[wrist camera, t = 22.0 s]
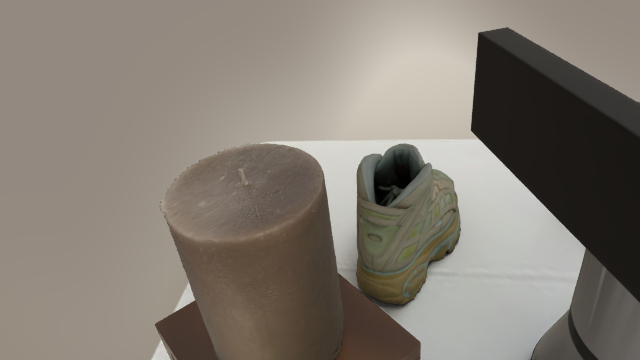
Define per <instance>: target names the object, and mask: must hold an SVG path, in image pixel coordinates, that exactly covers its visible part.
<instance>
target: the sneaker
mask: <svg viewBox="0 0 640 360" xmlns="http://www.w3.org/2000/svg"><path fill="white" fill-rule="evenodd" d="M460 231H461V229H460V215H459V209H458V205H457V195H456V192H455V190H454V183H453V180H452V179H450V178H449V177H448V176H447V175H446V174H444V173H443V172H441V171H439V170H435V169H432V166H431V164H430V163H427V164H425V163H424V161H423V159H422V157H421V155H420V153H419V151H418V149H417V148H416V147H415V146H413V145H410V144H398V145H395V146H393V147H391V148H389V149H388V150H387V151H386V152H385V154H384V155H383V157H382V155H381V154H370V155H368V156H365V157H364V158H363V159H362V161H361V163H360V164H359V167H358V170H357V249H358V255H359V257H358V260H357V272H356V275H357V282H358V286H359V287H360V289H361V290H362V291H363V292H364V293H366V294H368V295H369V296H371V297H373V298H376V299H378V300H381V301H383V302H386V303H394V304H399V305H402V304H405V303H407V302H408V301H411V300H413V299H414V297H415V296H416V292H419V291H420V289H421V287H422V283H424V282H425V280H426V277H427V267H428V264H429V261H430V260H440V259H442V258H444V256H445V253H446V251H447V252H448V253H451V252H452V251H453V250H454V247H455V243H458V240H459V237H460Z"/></svg>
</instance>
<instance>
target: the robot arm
mask: <svg viewBox="0 0 640 360" xmlns="http://www.w3.org/2000/svg"><path fill="white" fill-rule="evenodd" d="M471 131H472V132H473V133H474V134H475V135H476V136H477V137H478V138H479V139H480V140H481V141H482V142H483V143H484V144H485V145H486V146H487V147H488V149H489V150H490V151H491V152H492V153H493V154H494V155H495V156H496V157H497V158H498V159H499V160H500V161H501V162H502V163H503V164H504V165H505V166H506V167H507V168H508V169H509V170H510V171H511V172H512V173H513V174H514V175H515V176H516V177H517V178H518V179H519V180H520V181H521V182H522V183H523V184H524V185H525V186H526V187H527V188H528V189H529V190H530V191H531V192H532V193H533V194H534V195H535V196H536V198H537V199H538V200H539V201H540V202H541V203H542V204H543V205H544V206H545V207H546V208H547V209H548V210H549V211H550V212H551V213H552V214H553V215H554V216H555V217H556V218H557V219H558V220H559V221H560V222H561V223H562V224H563V225H564V226H565V227H566V228H567V229H568V230H569V231H570V232H571V233H572V234H573V235H574V236H575V237H576V238H577V239H578V240H579V241H580V242H581V243H582V244H583V245H584V246H585V248H586V251H585V254H584V258H583V262H582V266H581V270H580V273H579V277H578V280H577V284H576V287H575V291H574V294H573V298H572V302H571V306H570V309H569V310H568V311H567V312H566V313H565V314H564V315H563V316H562V317H561V318H560V319H559V320H558V321H557V322H556V323H555V324H554V325H553V326H552V327H551V328H550V329H549V330H548V331H547V332H546V333H545V334H544V335H543V337H542V338H541V339H540V340H539V342H538V343H537V345H536V347H535V349H534V351H533V354H532V357H531V360H640V102H636V101H634V100H632V99H631V98H629V97H627V96H626V95H624V94H622V93H621V92H619V91H617V90H615V89H614V88H612V87H610V86H608V85H607V84H605V83H603V82H601V81H600V80H598V79H596V78H594V77H593V76H591V75H589V74H588V73H586V72H584V71H582V70H581V69H579V68H577V67H575V66H574V65H572V64H570V63H568V62H567V61H565V60H563V59H562V58H560V57H558V56H556V55H555V54H553V53H551V52H549V51H548V50H546V49H544V48H542V47H541V46H539V45H537V44H536V43H534V42H532V41H530V40H529V39H527V38H525V37H523V36H522V35H520V34H518V33H516V32H515V31H513V30H511V29H509V28H502V29H496V30H491V31H485V32H480V33H478V47H477V58H476V72H475V84H474V97H473V110H472V123H471Z"/></svg>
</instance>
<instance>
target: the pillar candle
mask: <svg viewBox="0 0 640 360" xmlns="http://www.w3.org/2000/svg"><path fill="white" fill-rule="evenodd" d="M160 203H161V205H160V209H161V211H162V212H163V213H164V214H165V216H164V217H165V218H166V220H167V224H168V226H169V228H170V232H171V235H172V237H173V239H174V242H175V245H176V247H177V251H178V253H179V255H180V258H181V262H182V264H183V268H184V269H185V271H186V275H187V278H188V280H189V283H190V286H191V289H192V292H193V295H194V298H195V300H196V302H197V304H198V307H199V309H200V312H201V315H202V318H203V321H204V323H205V326H206V328H207V331H208V334H209V336H210V339H211V341H212V344H213V346H214V350H215V353H216V355H217V357H218V360H334V359H335V358H336V357H337V356H338V354H339V352H340V350H341V348H342V346H343V341H342V340H343V331H344V329H345V321H344V314H343V306H342V301H341V293H340V287H339V279H338V271H337V264H336V257H335V252H334V244H333V237H332V230H331V222H330V215H329V207H328V199H327V192H326V187H325V179H324V174H323V171H322V168H321V166H320V165H319V163H318V162H317V160H316V159H315V158H313V157H312V156H311V155H309V154H308V153H306V152H304V151H302V150H300V149H298V148H294V147H290V146H286V145H278V144H252V145H251V144H245V145H242V146H239V147H231V148H228V149H225V150H223V151H221V152H218V153H217V154H214V155H213V156H211V157H208V158H205V159H202V160H200V161H199V162H198V163H196V164H194V165H192V166H190V167H188V168H187V170H185V171H184V172H183V173H182V174H181V175H180V176H179V177H178V178H177V179H175V180H174V182H173V183H172V184H171V186H170V188H169V189H168V190H167V192H166V194H165V197H164V200H163V201H162V202H160Z"/></svg>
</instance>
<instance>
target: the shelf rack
mask: <svg viewBox="0 0 640 360" xmlns="http://www.w3.org/2000/svg"><path fill="white" fill-rule="evenodd" d="M338 279H339V287H340V293H341V301H342V306H343V314H344V321H345V329H344V331H343V340H342V341H343V346H342V348H341V350H340V352H339V354H338V356H337V357H336V358H335V359H334V360H420V349H421V343H420V341H418V340H417V339H416V338H415V337H414V336H412V335H411V334H410V333H409V332H408V331H406V330H405V329H404V328H403V327H402V326H400V325H399V324H398V323H397V322H396V321H395V320H393V319H392V318H391V317H390V316H389V315H387V314H386V313H385V312H384V311H383V310H381V309H380V308H379V307H378V306H377V305H375V304H374V303H373V302H372V301H371V300H370V299H368V298H367V297H366V296H365V295H364V294H362V293H361V292H360V291H359V290H358V289H356V288H355V287H354V286H353V285H352V284H350V283H349V282H348V281H347V280H346V279H345V278H343V277H342V276H341V275H340V274H339V273H338ZM155 326H156V328H157V330H158V333H159V335H160V337H161V339H162V341H163V343H164V346H165V348H166V350H167V352H168V354H169V357H170V359H171V360H218V357H217V355H216V353H215V350H214V346H213V344H212V341H211V339H210V336H209V334H208V331H207V328H206V326H205V323H204V321H203V318H202V315H201V312H200V309H199V307H198V304H197V302H196V300H195V301H193V302H192V303H190V304H188V305H186V306H185V307H183V308H181V309H180V310H178V311H176V312H175V313H173V314H171V315H170V316H168V317H166V318H164V319H163V320H161V321H159V322H158V323H156V324H155Z"/></svg>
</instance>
